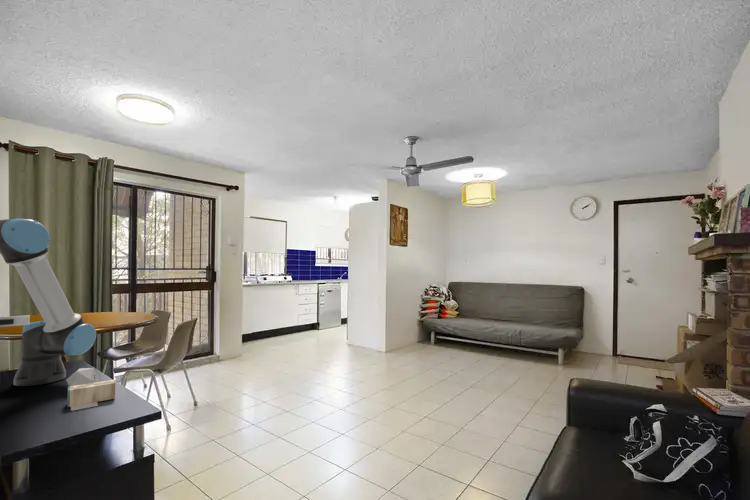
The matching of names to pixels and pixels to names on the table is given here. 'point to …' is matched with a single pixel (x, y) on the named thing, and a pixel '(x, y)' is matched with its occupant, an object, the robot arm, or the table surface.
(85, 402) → the block
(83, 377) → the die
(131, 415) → the table surface
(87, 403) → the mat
